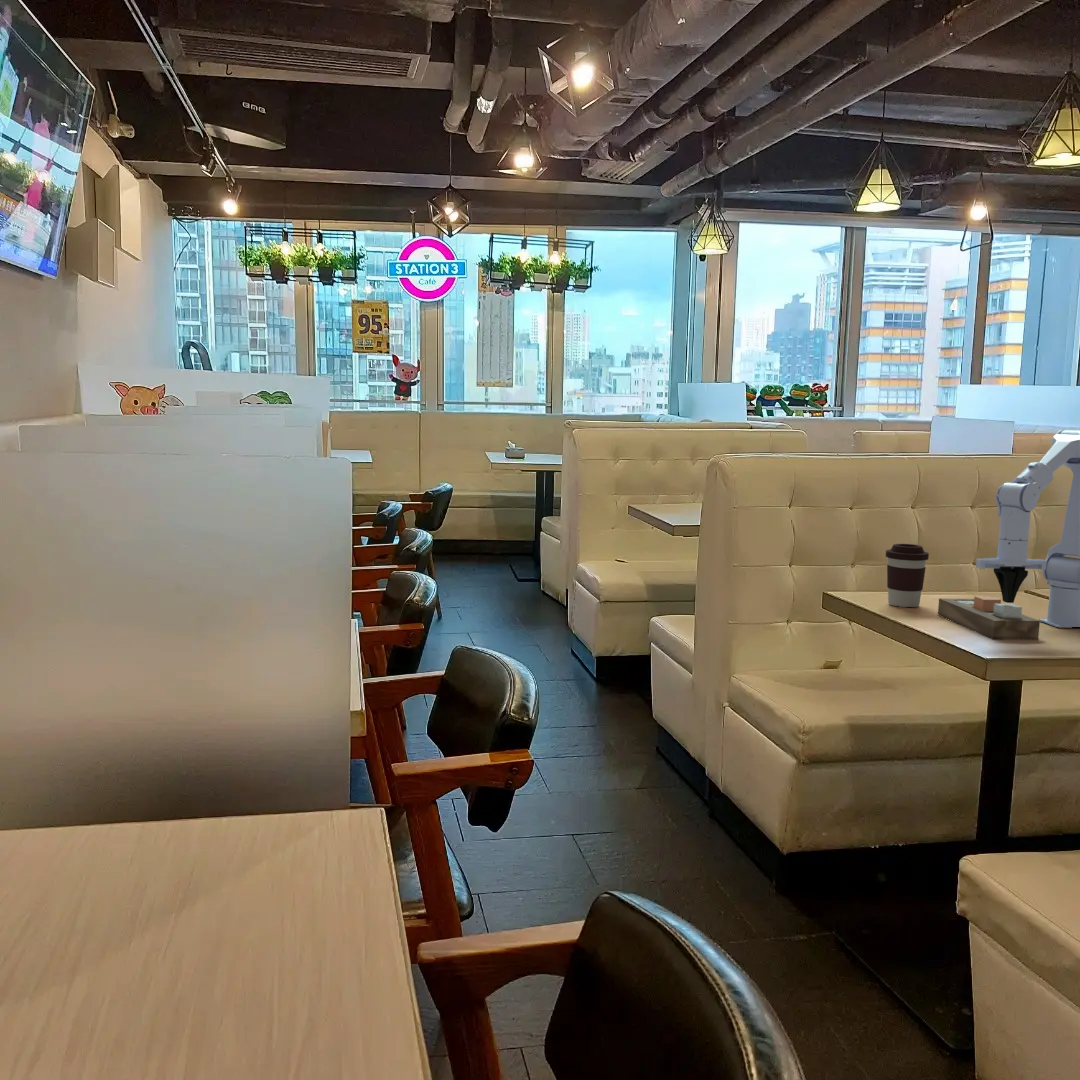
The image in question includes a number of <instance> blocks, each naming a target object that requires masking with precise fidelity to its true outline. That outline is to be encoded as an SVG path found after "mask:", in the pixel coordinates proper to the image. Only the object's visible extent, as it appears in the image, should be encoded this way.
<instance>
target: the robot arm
mask: <svg viewBox="0 0 1080 1080" xmlns="http://www.w3.org/2000/svg"><path fill="white" fill-rule="evenodd" d="M1062 466H1064V467H1066V468H1068V469H1070V471H1071V472H1072V474H1073V475H1072V478H1071V479H1072V480H1071V485H1070V490H1069V496H1068V501H1067V506H1066V512H1065V517H1064V524H1063V529H1062V532H1061V538H1060V541H1059V542H1057V543H1056V544H1055V545H1053V546H1050V547H1049V549H1048V551H1047V555H1046V557H1045V559H1040V558H1035V559H1034V558H1028V547H1029V546H1028V545H1029V536H1030V535H1029V533H1030V520H1031V512H1032V510H1034V509H1036V507H1037V505H1038V502H1039V501H1038V500H1039V498H1040V497H1041V493H1042V492H1043V491H1044V490H1045V489H1046V487H1048V486H1049V485H1050V484H1051V483H1052V481H1053V480H1054V474H1053V473H1054V472H1056V471H1057V470H1058V469H1059V468H1061V467H1062ZM995 503H996V506H997V515H998V517H999V529H998V530H999V531H998V542H997V555H996V557H988V558H986V557H985V558H976V562H975V567H976V569H977V568H978V569H981V570H983V569H984V570H986V569H993V572H994V575H995V576H996V579H997V581H998V584H999V587H1000V592H1001V597H1002V599H1001V600H1002V602H1004V603H1006V604H1014V602H1015V599H1016V597H1017V594H1018V591H1019V589H1020V587H1021V585H1022V584H1023V582H1024V580H1026V579H1027V577H1028V575H1029V571H1028V570H1042V576H1043V578H1044V580H1045V581H1046V584H1047V585H1049V595H1048V604H1047V614H1046V615H1047V616H1046V618H1038V620H1039V621H1040V622H1041V623H1045V624H1048V625H1050V626H1053V627H1056V628H1061V629H1062V628H1065V629H1066V628H1069V629H1070V628H1072V627H1080V430H1076V429H1075V430H1074V429H1073V430H1072V429H1059V430H1058V431H1057V432H1056V433H1055V435H1053V436H1052V440H1051V447H1050V448H1049V450H1047V452H1046V453H1045V455H1043V457H1042V458H1041V459H1040V461H1035V462H1030V463H1028V464H1027V466H1026V467H1025V468H1024V469H1023V470H1022V471H1021V472H1020V473H1019V474H1018V475H1016V477H1015V478H1013V480H1012V481H1011V482H1005V483H1003V484H1001V485H1000V486H999V488H998V490H997V491H996V495H995ZM1070 556H1071V557H1070ZM1078 557H1079V558H1078ZM1072 629H1073V628H1072Z"/></svg>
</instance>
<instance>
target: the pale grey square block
mask: <svg viewBox="0 0 1080 1080" xmlns="http://www.w3.org/2000/svg"><path fill="white" fill-rule="evenodd" d="M1022 610H1023V607H1022V606H1021V605H1020V606H1019V605H1017V604H1014V603H1001V604H994V611H993V616H996V617H998V618H1001V619H1021V614H1022Z"/></svg>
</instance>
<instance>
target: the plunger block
mask: <svg viewBox="0 0 1080 1080" xmlns="http://www.w3.org/2000/svg"><path fill="white" fill-rule="evenodd" d="M957 601H974V598H940V597H939V598H938V607H937V615H938V614H939V615H941V616H943V617H944V618H943V617H942V618H943V619H945V618H947V619H946V620H948V619H949V620H948V621H950V620H951V621H950V622H952V621H953V622H952V623H956V624H957V625H959V624H960V625H959V626H961V625H962V627H964V628H967V629H968V628H969V630H970V631H973V632H975V631H976V633H977V632H978V634H980V633H981V634H980V635H982V634H983V635H982V636H984V635H985V637H987V638H989V639H991V638H992V639H991V640H1039V635H1040V623H1041V621H1039V619H1036V618H1033V617H1031V616H1028V615H1025V614H1022V613H1021V619H1001V618H998V617H996V616H993V611H980V610H978V609H975V608H974V604H962V603H960V602H957ZM939 615H938V616H939ZM941 616H940V617H941Z"/></svg>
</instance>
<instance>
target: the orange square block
mask: <svg viewBox="0 0 1080 1080" xmlns="http://www.w3.org/2000/svg"><path fill="white" fill-rule="evenodd" d="M973 599H974V608H975V609H978V610H980V611H994V604H1002V601H1001V600H1002V599H1000V598H998V597H994V596H988V595H987V596H982V595H980V596H979V595H977V596H976V595H974V597H973Z"/></svg>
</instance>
